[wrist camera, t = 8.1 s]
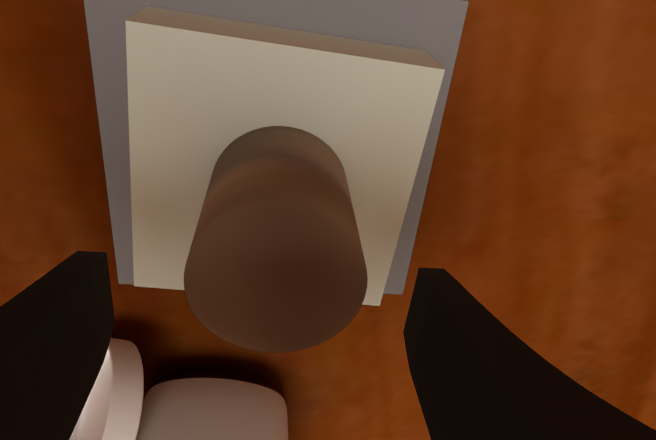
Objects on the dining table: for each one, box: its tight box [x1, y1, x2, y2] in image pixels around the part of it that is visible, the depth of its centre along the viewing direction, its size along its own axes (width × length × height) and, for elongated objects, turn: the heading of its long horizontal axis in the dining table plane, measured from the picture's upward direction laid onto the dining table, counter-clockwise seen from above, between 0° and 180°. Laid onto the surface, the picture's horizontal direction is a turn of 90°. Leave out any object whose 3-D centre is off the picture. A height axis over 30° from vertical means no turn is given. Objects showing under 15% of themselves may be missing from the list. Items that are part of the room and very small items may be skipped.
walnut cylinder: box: [184, 126, 368, 353], centre depth 14 cm, size 4×4×5 cm
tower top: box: [125, 6, 445, 306], centre depth 18 cm, size 9×9×2 cm
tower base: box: [84, 0, 469, 294], centre depth 20 cm, size 12×12×2 cm
